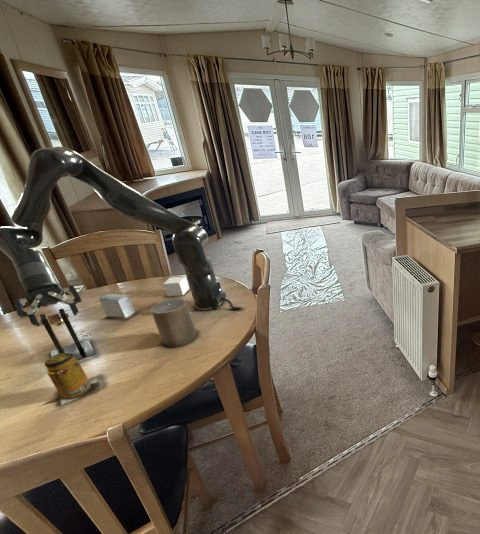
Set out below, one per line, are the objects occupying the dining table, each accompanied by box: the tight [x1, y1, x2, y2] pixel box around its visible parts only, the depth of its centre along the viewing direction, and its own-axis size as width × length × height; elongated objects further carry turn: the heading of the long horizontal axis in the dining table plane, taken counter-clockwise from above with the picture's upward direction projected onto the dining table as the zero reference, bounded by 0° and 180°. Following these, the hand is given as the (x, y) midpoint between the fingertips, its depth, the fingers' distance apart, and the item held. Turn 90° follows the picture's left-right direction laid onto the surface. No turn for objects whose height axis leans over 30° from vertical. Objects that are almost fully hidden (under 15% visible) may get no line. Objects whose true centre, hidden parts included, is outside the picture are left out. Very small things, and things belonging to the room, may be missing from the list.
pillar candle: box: [150, 298, 198, 348], centre depth 115 cm, size 10×10×15 cm
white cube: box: [162, 276, 190, 297], centre depth 147 cm, size 6×6×6 cm
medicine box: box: [99, 293, 137, 319], centre depth 128 cm, size 8×4×9 cm, turn 84°
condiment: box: [44, 353, 104, 406], centre depth 93 cm, size 7×8×12 cm
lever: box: [47, 313, 65, 328], centre depth 107 cm, size 14×4×4 cm, turn 50°
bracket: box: [39, 308, 96, 361], centre depth 106 cm, size 12×9×16 cm
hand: (57, 319), depth 111 cm, fingers open, 8 cm apart
